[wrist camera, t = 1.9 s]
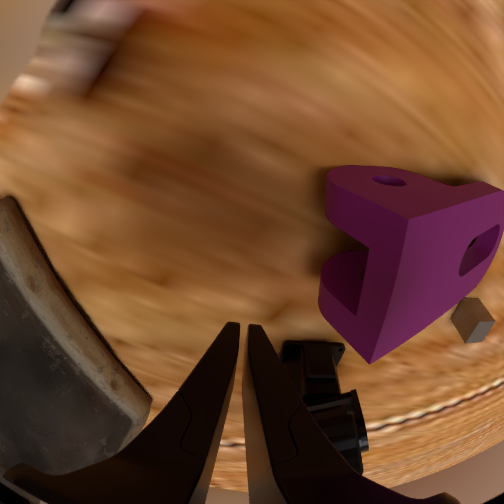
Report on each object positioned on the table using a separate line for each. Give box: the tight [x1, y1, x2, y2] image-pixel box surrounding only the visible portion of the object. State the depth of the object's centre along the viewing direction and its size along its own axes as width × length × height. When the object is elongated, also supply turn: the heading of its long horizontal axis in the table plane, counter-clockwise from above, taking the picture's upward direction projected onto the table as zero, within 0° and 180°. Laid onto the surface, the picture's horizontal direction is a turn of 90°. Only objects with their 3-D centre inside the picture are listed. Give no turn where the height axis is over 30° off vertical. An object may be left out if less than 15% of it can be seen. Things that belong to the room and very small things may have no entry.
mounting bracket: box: [318, 165, 504, 364], centre depth 20 cm, size 10×8×18 cm
